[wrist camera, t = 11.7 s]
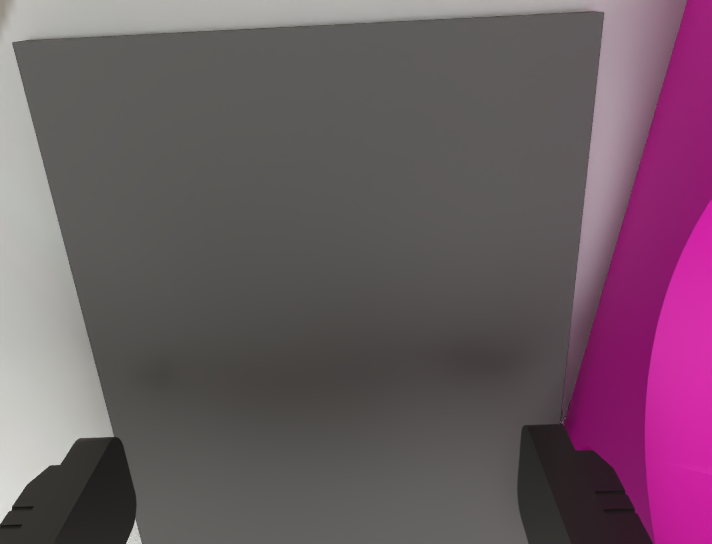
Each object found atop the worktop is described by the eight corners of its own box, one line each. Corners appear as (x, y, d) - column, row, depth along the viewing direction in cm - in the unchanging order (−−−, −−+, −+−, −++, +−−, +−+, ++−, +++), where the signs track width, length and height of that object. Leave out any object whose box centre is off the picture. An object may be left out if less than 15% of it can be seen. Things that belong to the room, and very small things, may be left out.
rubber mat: (26, 40, 13) (12, 42, 13) (594, 11, 13) (603, 12, 12) (159, 572, 20) (154, 589, 19) (538, 563, 20) (543, 579, 19)
